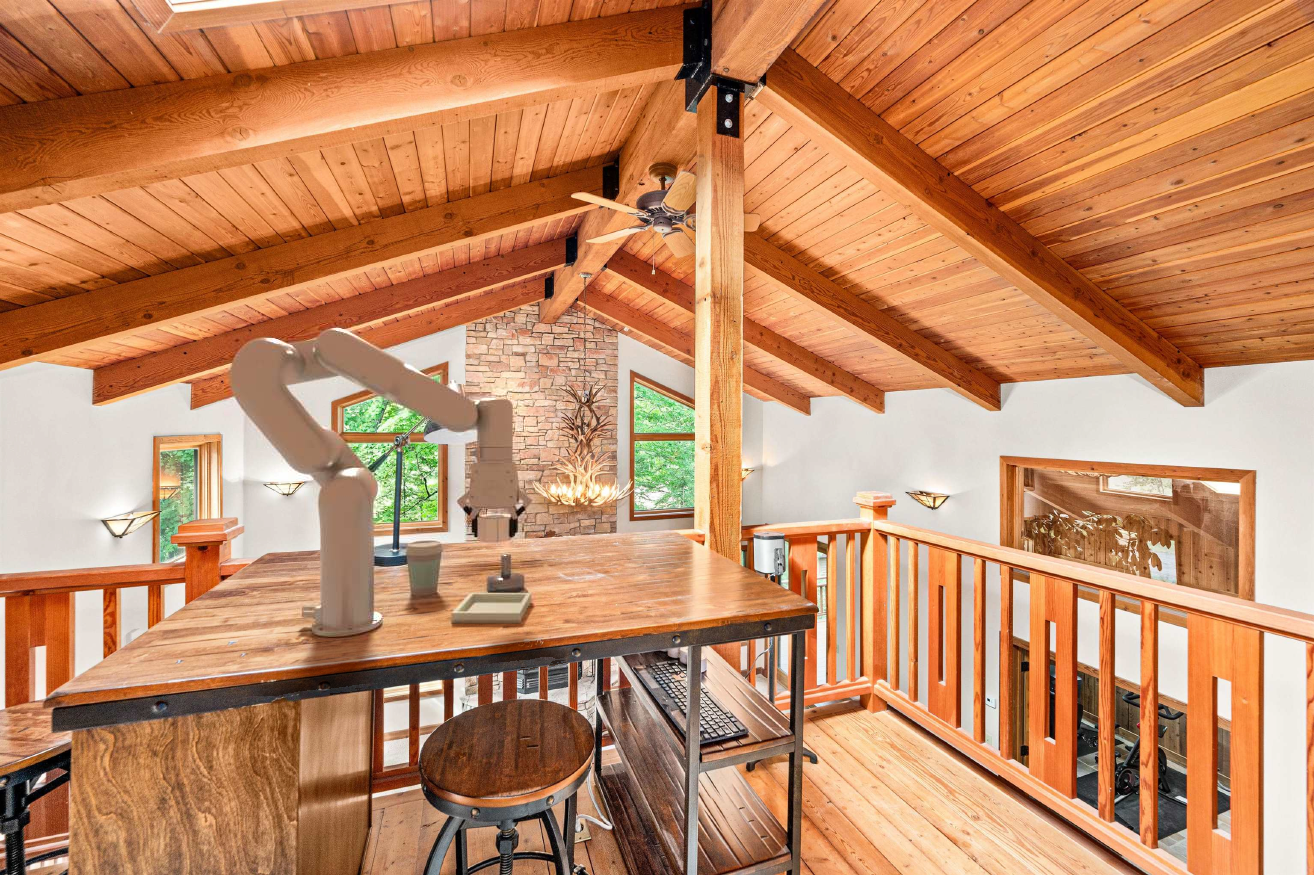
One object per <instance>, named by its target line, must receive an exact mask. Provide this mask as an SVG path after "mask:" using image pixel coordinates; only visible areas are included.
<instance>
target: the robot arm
mask: <svg viewBox="0 0 1314 875" xmlns="http://www.w3.org/2000/svg"><path fill="white" fill-rule="evenodd" d="M230 365H231V366H230V370H229V382H230V388H231V392H232V393H233V397H234V398H235V400H236V402H237V404H238V405H239V407H240V408H241V409H242V411H243V412H244V413H245V415H247V417H248V419H250V420H251V422H253V424H254V425H255V426H256V427H257V428H258V430H259V431H260V432H261V433H262V434H263V436H264V437H265V438H266V439H267V440H268V442H269V443H270V445H271V446H273V448H274V449H275V450H276V451H277V452H278V453H279V454H280V455H281V457H282V459H284V461H285V462H286V463H287V465H289V467H290V468H292V469H293V470H294V471H296V472H297V473H300V474H303V475H309V476H311V478H312V479H313V480H314V481H315V482H316V484H318V486H319V487H320V489H319V493H318V501H317V504H318V505H317V508H318V518H319V531H320V532H319V533H320V534H319V535H320V537H319V539H320V604H319V605H315V604H314V605H313V604H306V605H303V606H302V609H301V618H304V619H309V618H313V619H314V622H312V624H311V632H312V633H313V635H315V636H320V637H324V638H326V637H327V638H328V637H329V638H336V637H337V638H338V637H349V636H355V635H359V634H363V633H366V632H369V631H371V630H375V629H376V628H378V627H379V626H380V625H382V623H383V615H382V614H381V613H380V612H377V611H375V524H374V523H375V522H374V521H375V520H374V516H375V514H374V507H375V506H374V502H375V499H376V498H377V495H378V493H379V486H378V485H379V484H378V481H377V479H376V476H375V475H374V474H373V472H372V471H371V470H370V469H369V468H368V466H367V465H366V464H365V463H364V462H363V461H362V460H361V458H360V457H359V456H358V455H357V454H356V453H355V451H354V450H353V449H352V448H351V446H349V444H348V443H347V441H345V439H343V438H342V436H341V435H340V434H338V433H337V432H336V431H335V430H333V429H331V428H328V427H326V426H321V425H320V424H319V423H318V421H316V419H315V418H314V417H313V416H312V415H311V414H310V413H309V411H308V410H306V408H305V407H304V405H303V404H302V402H300V401H299V400H298V398H297V397H296V396H294V394H292V392H291V391H290V390H289V388H288V386H292V385H297V384H302V383H307V382H308V383H309V382H314V381H319V380H325V379H330V378H335V377H338V376H339V377H342V378H344V379H345V380H348V381H350V382H351V383H353V384H355V385H357V386H359V387H361V388H363V389H365V390H367V391H369V392H371V393H373V394H375V395H377V396H378V397H380V398H383V399H384V400H387V401H388V402H391V403H393V404H396V405H399V406H402V407H404V408H405V409H408V410H410V411H411V412H414V413H416V414H418V415H420V416H422V417H424V418H426V419H427V420H429V421H431V422H433V423H435V424H437V425H439V426H441V427H442V428H445V429H446V430H448V431H450V432H451V433H459V434H461V433H465V432H467V431H476V446H477V447H475V448H474V449H470V452H469V454H470V455H469V456H471V457H475V459H476V460H475V461H472V465H471V471H470V477H469V478H470V480H469V488H468V489H469V490H468V491H467V492H465V493H464V494H463V495H462V496H460V497H459V498H458V499H456V503H457V504H458V506H460V508H461V509H462V510H463V512H464V513H465V514H466V515H467V516H469V518H470V520H471V534H473V538H477V537H478V520H477V517H479V516H480V514H481V511H482V509H507V511H508V514H509V515H511V519H510V520H509V537H512V538H514V537H515V536H516V534H518V532H519V517H520V516H521V515H522V514H523V513H524V512H525V511H526V510H527V509H528V507H529V506H531V504H532V503H533V499H532V498H531V497H529V495H527V494H526V492H524V491H522V490H521V489H520V482H519V473H518V466H517V463H516V462H517V461H515V460H513V459H514V457H513V456H514V455H513V454H514V452H513V450H514V448H513V447H514V445H513V444H514V442H513V441H514V432H513V431H514V420H513V419H514V416H513V415H514V409H513V408H514V407H513V406H514V405H513V403H512V401H511V400H510V399H507V398H481V399H471V398H469V397H467V396H466V395H463V394H461V393H459V392H457V391H456V390H455V389H452V388H451V387H449V386H446V385H445V384H443V383H441V382H439V381H437V380H435V379H433V378H432V377H430V376H428V375H426V373H422V372H421V371H419V370H418V369H417V368H415V367H414V366H412V365H410V364H408V363H406V362H405V361H404V360H402V359H399V358H397V357H396V356H394V355H392V354H390V353H388V352H387V351H385V350H383V349H382V348H380V347H378V346H376V345H374V344H372V343H371V342H368V341H366V340H365V339H363V338H361V337H359V336H357V335H355V334H354V333H352V332H350V331H348V330H345V329H342V328H339V327H335V328H334V327H333V328H328V329H325V330H323V331H321V332H320V333H319V334H318V335H317V336H316V338H314V339H309V340H308V339H307V340H303V341H302V340H301V341H295V342H289V343H286V342H283V341H281V340H279V339H276V338H271V337H259V338H254V339H252V340H250V341H248V342H246V343H245V344H244V345H242V346H241V347H240V349H239V350H237V352H236V354H235V356H234V358H233V360H232V363H231V364H230ZM520 500H521V501H522V502H523V503H522V505H520V507H519V508H518V507H517V504H519V503H520ZM468 503H469V504H468Z"/></svg>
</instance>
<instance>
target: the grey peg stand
mask: <svg viewBox="0 0 1314 875" xmlns="http://www.w3.org/2000/svg"><path fill="white" fill-rule="evenodd" d="M522 590H523V591H524V590H525V575H524V574H523V573H519V572H512V555H511V554H510V553H508V554H507V553H505V554H501V555H500V572H499V573H498V572H497V573H493V574H490V575H488V576H487V577H486V593H522Z"/></svg>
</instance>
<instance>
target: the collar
mask: <svg viewBox="0 0 1314 875" xmlns="http://www.w3.org/2000/svg"><path fill="white" fill-rule="evenodd" d="M510 519H511V515H510V514H509V513H488V514H482V515H481V514H479V517H477V520H478V537H476V538H477V542H481V543H485V544H486V543H489V544H490V543H496V544H497V543H503V542H508V541H511V540H512V539H513V537H509V520H510Z"/></svg>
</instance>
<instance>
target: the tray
mask: <svg viewBox="0 0 1314 875" xmlns="http://www.w3.org/2000/svg"><path fill="white" fill-rule="evenodd" d="M531 603H532V592H518V593H489V592H470V593H469V594H467V596H466V597H465V598H464V599H463V600H462V601H461V602H460V603H459V604H458V605H457V606H456V607H455V608H454V610H452V612H451V614H450V622H452V623H451V624H520V623H521V622H522V619H523V617H524V615H525V614H526V612H527V610H528V609H529V606H530V605H531ZM527 608H528V609H527Z"/></svg>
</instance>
